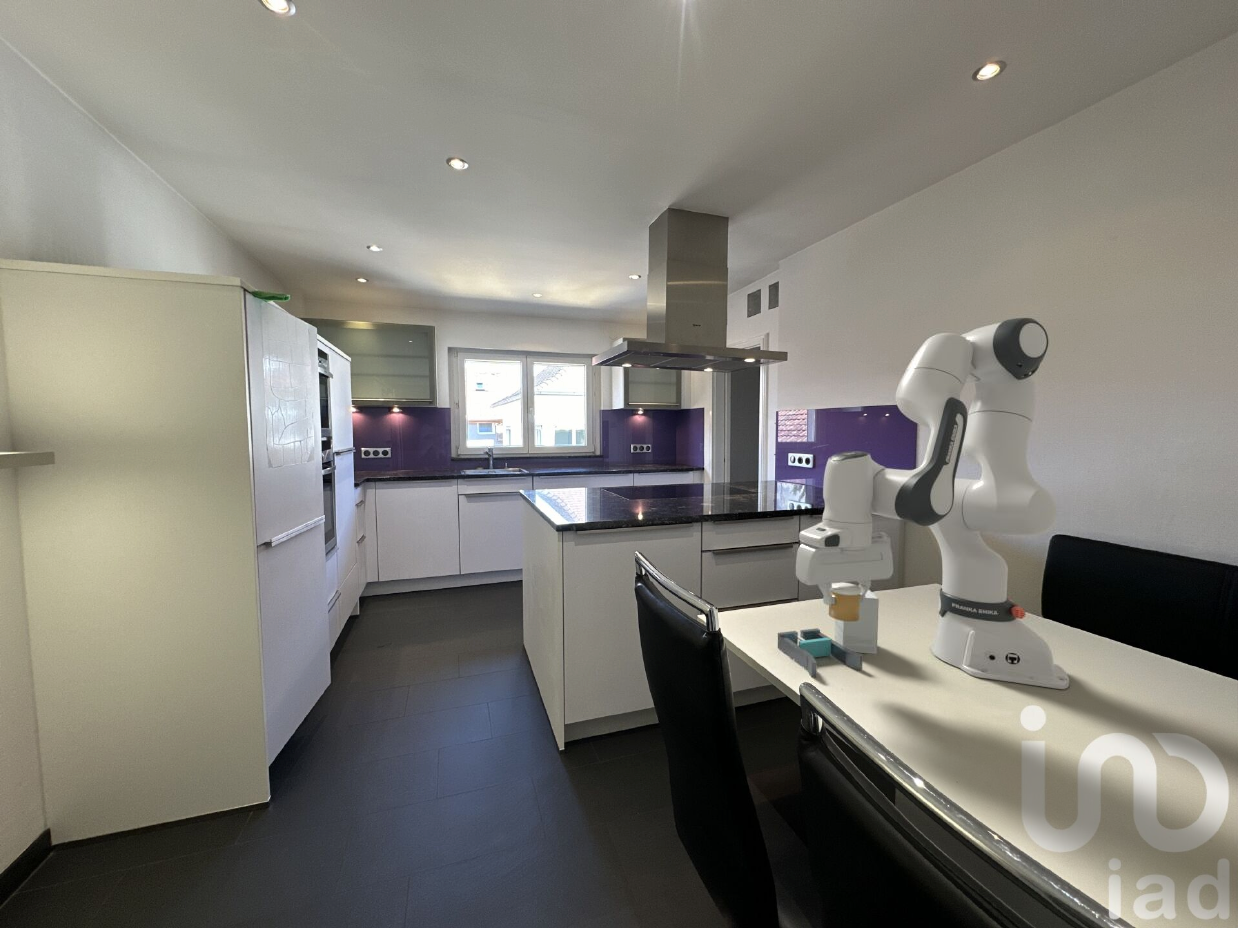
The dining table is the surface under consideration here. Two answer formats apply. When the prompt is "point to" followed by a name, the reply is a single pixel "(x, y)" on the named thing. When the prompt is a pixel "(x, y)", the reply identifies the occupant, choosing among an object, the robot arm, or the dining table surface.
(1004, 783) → the dining table surface
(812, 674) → the lane
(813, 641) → the teal open box
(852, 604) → the amber jar
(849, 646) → the supplement box
